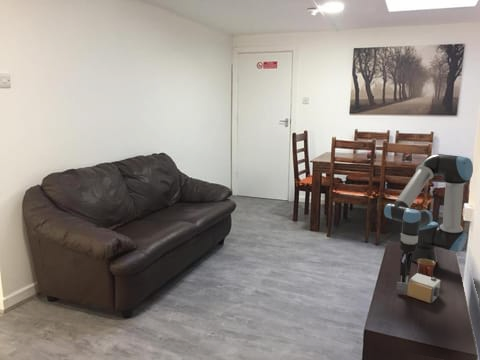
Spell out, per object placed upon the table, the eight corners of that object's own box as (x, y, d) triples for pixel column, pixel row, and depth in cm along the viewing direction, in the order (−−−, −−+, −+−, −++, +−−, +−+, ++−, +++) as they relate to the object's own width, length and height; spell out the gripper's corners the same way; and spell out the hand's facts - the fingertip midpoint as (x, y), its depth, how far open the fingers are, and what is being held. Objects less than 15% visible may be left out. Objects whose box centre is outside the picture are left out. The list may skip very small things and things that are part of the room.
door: (397, 290, 195) (398, 276, 193) (432, 303, 184) (434, 288, 182) (396, 291, 194) (397, 277, 192) (431, 304, 183) (433, 289, 181)
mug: (413, 275, 213) (415, 257, 211) (430, 277, 211) (433, 259, 209) (418, 285, 201) (420, 266, 199) (437, 287, 200) (439, 268, 197)
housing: (415, 287, 199) (417, 271, 197) (441, 296, 191) (443, 279, 189) (407, 294, 192) (409, 277, 190) (434, 303, 183) (436, 286, 182)
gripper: (404, 236, 196) (399, 280, 200) (396, 243, 186) (391, 289, 191) (420, 240, 191) (415, 285, 196) (412, 247, 181) (407, 294, 186)
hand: (403, 287), depth 193 cm, fingers closed
